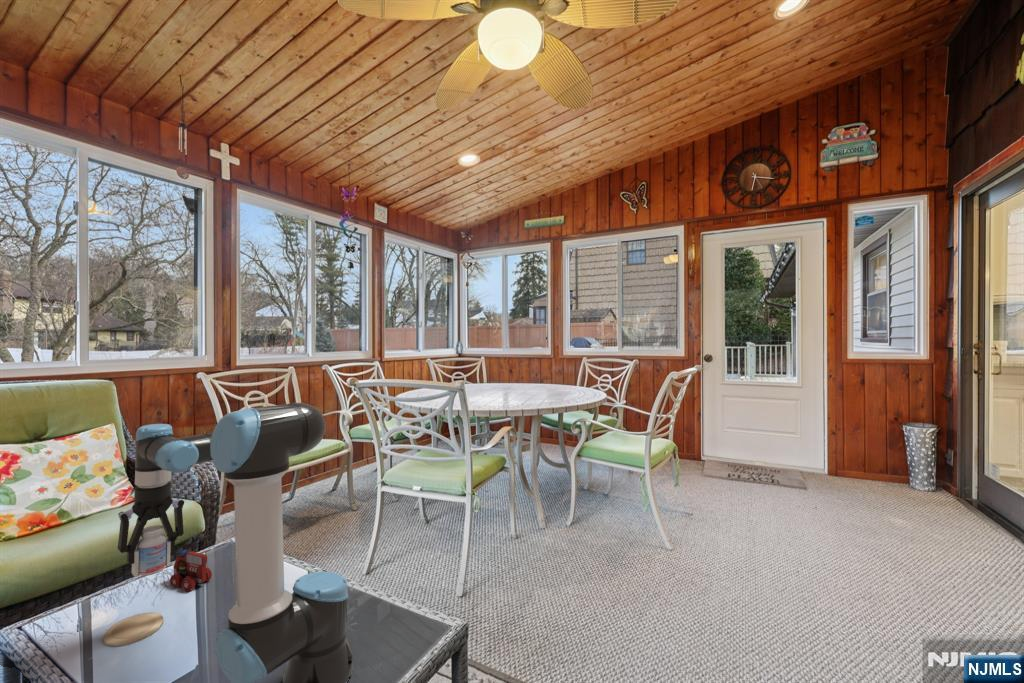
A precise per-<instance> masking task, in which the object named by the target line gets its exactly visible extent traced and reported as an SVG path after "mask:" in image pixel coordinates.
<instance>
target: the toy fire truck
mask: <svg viewBox="0 0 1024 683" xmlns="http://www.w3.org/2000/svg"><path fill="white" fill-rule="evenodd" d="M207 563H208V555H207V554H205V553H201V552H195V551H188V550H187V549H182V550H181V551H180V552H179V554H178V555H177V557H176V559H175V562H174V564H173V574H172V575H171V576H170V578H169V583H170V586H171V587H172V588H174V589H177V588H179V587H181V588H182V589H183V591H185V592H190V591H192V590H194V588H195V587H196V585H198V584H203V583H207V582H208V581H210V580H211V579H212V576H213V574H212V570H211V569H210V568H208V567H207Z"/></svg>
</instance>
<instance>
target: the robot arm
mask: <svg viewBox="0 0 1024 683" xmlns="http://www.w3.org/2000/svg"><path fill="white" fill-rule="evenodd" d="M326 423H327V422H326V419H325V417H324V415H323V413H322V411H321V410H320V409H318V408H317V407H315V406H313V405H311V404H310V403H305V402H291V403H287V404H278V405H268V406H260V407H259V406H258V407H250V408H245V409H241V410H236V411H235V410H234V411H231V412H228V413H226V414H224V416H222V417H221V418H220V419H219V421H218V422H217V424H216V425H215V427H214V429H213V431H212V432H209V433H201V434H194V435H189V436H183V437H175V436H173V435H174V432H173V426H172V425H171V424H168V423H151V424H145V425H142V426H140V427H138V428H137V430H136V432H135V434H136V435H135V440H134V444H135V446H134V447H135V455H134V456H135V457H134V458H135V461H134V463H135V464H134V467H135V468H134V472H135V473H134V485H135V487H134V494H133V496H134V498H133V499H134V500H133V501H134V502H133V505H132V507H131V508H130V509H128V510H125V511H120V512H119V513H118V518H119V520H120V521H119V522H120V523H119V532H118V542H117V550H118V551H119V553H120V554H121V553H122V554H123V553H126V562H127V564H128V565H131V574H132V576H133V577H134V578H136V577H138V576H139V575H138V567H139V551H138V550H137V544H138V542H139V540H140V539H141V534H142V531H143V529H144V528H145V526H146V525H147V524H148V521H150V520H153V519H159V520H160V522H161V524H162V525H161V526H163V531H164V532H165V536H166V566H165V567H169V566H171V553H172V552H175V550H176V547H175V546H176V541H177V539H178V538H179V537H181V536H184V533H185V532H184V518H183V516H184V515H183V508H184V504H185V500H183V499H182V498H181V497H179V498H177V499H176V498H175V499H173V498H172V496H171V495H172V482H171V480H172V473H176V474H177V473H183V472H186V471H188V470H190V469H191V468H192V467H194V466H195V465H198V464H199V465H200V464H203V463H208V462H211V461H212V464H213V466H214V467H215V469H216V470H217V471H219V472H220V473H224V479H225V480H226V481H228V482H229V483H230V484H232V486H233V497H234V505H233V506H234V508H233V509H234V541H235V542H234V544H235V584H236V586H235V588H236V590H235V591H236V602H235V603H234V604H233V606H231V608H230V609H229V611H228V613H227V614H228V615H227V618H228V619H227V620H228V621H227V622H228V624H227V627H226V628H222V629H221V631H219V632H218V633H217V635H216V638H215V640H214V649H215V650H214V652H215V656H216V658H217V662H218V665H219V666H220V668H221V670H222V672H223V674H224V675H225V676H226V678H227V679H228V681H229V682H231V683H256V682H257V681H259V680H261V679H264V678H266V677H267V676H268V674H270V673H272V672H273V671H275V670H276V669H278V668H279V667H282V665H283V664H285V663H286V667H285V668H284V671H283V675H282V683H345V682H346V681H347V680H348V679H349V677H350V676H351V673H352V674H353V672H352V670H353V671H354V656H353V653H352V650H351V647H350V644H349V641H348V639H347V628H348V626H347V621H348V620H347V619H348V599H349V593H348V582H347V580H346V578H345V577H344V576H342V575H341V574H340V573H337V572H333V571H315V572H310V573H307V574H303V575H302V576H300V577H299V578H297V579H296V580H295V582H294V583H293V587H292V591H293V592H290V591H288V590H286V589H285V568H284V567H285V566H284V562H285V561H284V527H283V526H284V525H283V520H284V519H283V490H282V487H283V486H282V484H283V483H282V478H283V476H284V475H285V474H286V473H287V472H288V471H289V470H290V457H295V456H299V455H302V454H305V453H307V452H309V451H311V450H313V449H314V448H316V447H317V446H318V445H319V444H320V443H321V441H322V440H323V438H324V436H325V434H326V431H327V430H326V429H327V428H326V427H327V424H326ZM171 506H172V507H173V513H174V514H173V516H174V529H173V528H172V524H171V522H170V520H169V517H168V514H167V511H168V510H169V508H170V507H171ZM134 514H135V516H137V519H136V523H135V526H134V528H133V530H132V533H131V536H130V538H129V528H130V519H132V516H133V515H134ZM128 538H129V541H128ZM351 677H352V676H351ZM349 680H350V679H349Z"/></svg>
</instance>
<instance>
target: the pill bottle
mask: <svg viewBox="0 0 1024 683" xmlns="http://www.w3.org/2000/svg"><path fill="white" fill-rule="evenodd" d="M166 539H167V535H166V534H164V527H163V525H160V524H159V525H158V524H157V525H150V526H146V527H144V529H143V531H142V534H141V536H140V539H139V542H138V544H137V547H136V548H137V550H138V551H139V567H138V576H142V577H144V576H145V577H146V576H147V577H148V576H152V575H155V574H157V573H158V574H159V573H160V572H162V571H163V570H164V569H165V568H166V567H167V566H166Z"/></svg>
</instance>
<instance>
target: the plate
mask: <svg viewBox="0 0 1024 683" xmlns="http://www.w3.org/2000/svg"><path fill="white" fill-rule="evenodd" d="M163 623H164V616H163V615H162V614H161V613H158V612H143V613H138V614H134V615H131V616H127V617H125V618H123V619H121V620H120V621H119V620H118V621H117V622H116V623H114V624H113V625H111V626H110V627H109V628H108V629H107V630H106V631H105V632H104V634H103V636H102V637H103V643H104V645H106V646H108V647H109V646H110V647H121V646H127V645H130V644H135V643H137V642H139V641H140V642H141V641H142V640H144V639H146V638H148V637H150V636H152V635H153V634H154V633H156V632H158V630H159V629H160V628H161V627H162V625H163Z"/></svg>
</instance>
